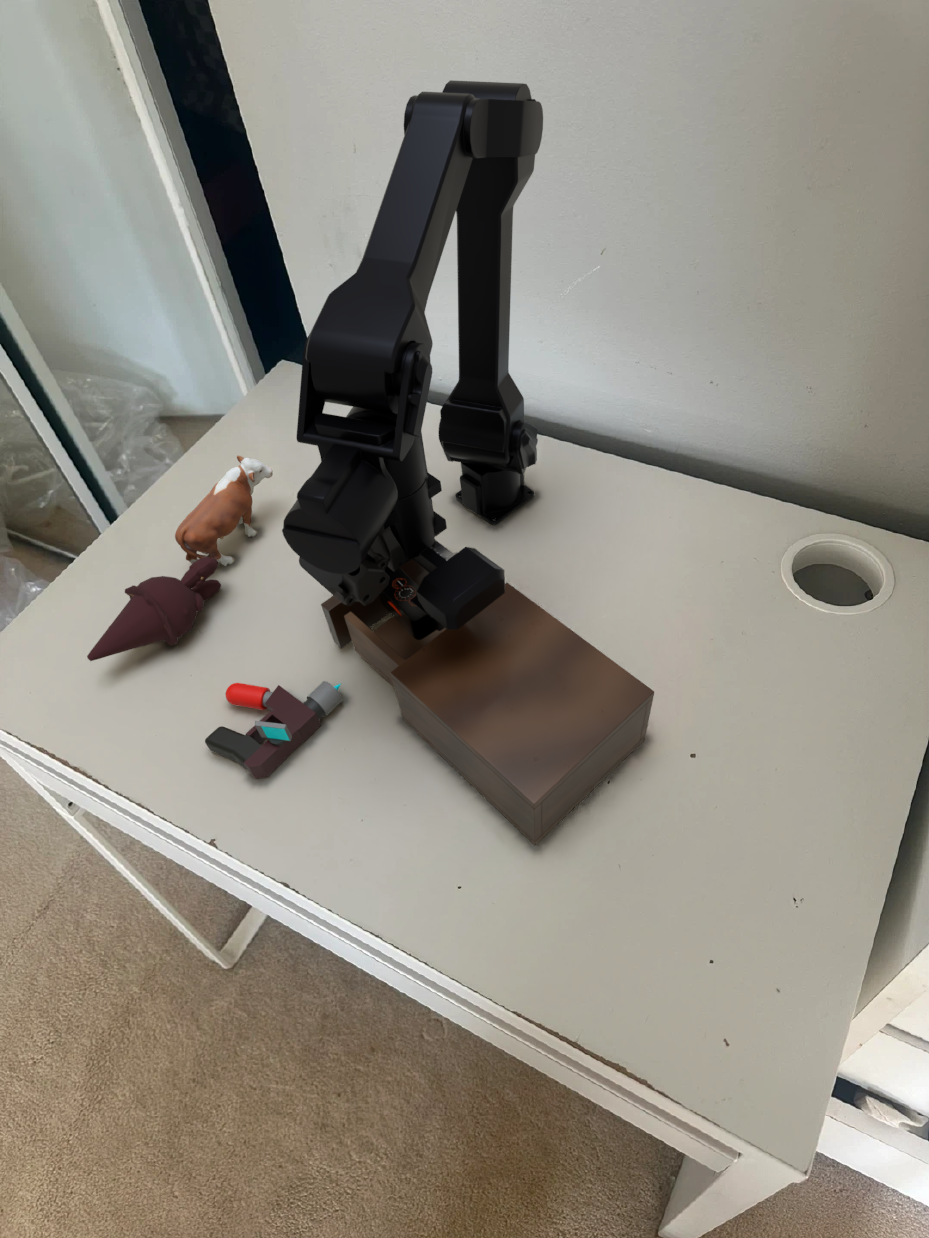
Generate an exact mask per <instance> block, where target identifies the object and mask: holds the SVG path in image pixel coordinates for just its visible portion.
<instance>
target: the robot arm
mask: <svg viewBox="0 0 929 1238" xmlns="http://www.w3.org/2000/svg"><path fill="white" fill-rule="evenodd" d="M443 87H444V88H443V90H442V91H440V92H439V91H421V92H420V93H419V94H417V95H416V94H414V95H412V96H410V97H409V98H408V101H407V102H406V104H405V105H406V106H405V109H404V113H403V115H404V116H403V135H404V136H403V139H402V141H401V144H400V147H399V151H398V153H397V156H396V160H395V162H394V165H393V168H392V171H391V172H390V177H389V180H388V182H387V185H386V188H385V191H384V194H383V197H382V200H381V203H380V206H379V208H378V211H377V214H376V218H375V220H374V224H373V227H372V229H371V232H370V235H369V238H368V241H367V243H366V246H365V249H364V252H363V255H362V258H361V261H360V263H359V265H358V267H357V269H356V271H355V273H353V274H352V275H350V277H349V278H347V279H346V280H345V281H343V282H342V283H341V284H340V285H338V286H337V287H336V288H334V290H331V292H330V293H329V294H328V296H327V297H326V299H325V301H324V303H323V305H322V308H321V310H320V312H319V314H318V316H317V318H316V320H315V322H314V324H313V325H312V328H311V330H310V333H309V334H308V336H307V338H306V340H305V343H304V346H303V351H302V352H303V353H302V364H301V375H300V376H301V377H300V388H299V389H300V390H299V401H298V402H299V403H298V413H297V425H296V427H297V429H296V441H297V443H300V444H306V445H311V446H317V449H318V452H319V456H320V463H319V464H318V466H317V467H316V469H315V470H314V472H313V473H312V474H311V475H310V477H308V478H307V480H306V481H305V482H304V483H303V484H302V486H301V487H300V489H299V490H298V491H297V493H296V501H295V502H294V504H293V505H292V506H291V507H290V510H289V511H288V512H287V514H286V516H285V517H284V519H283V527H282V529H281V532H282V535H283V537H284V539H285V542H286V543H287V544H288V546H289V547H290V548H291V550H292V551H293V552H294V553H295V554H296V555H297V556H298V563H299V566H300V567H301V568H302V569H303V570H304V571H305V572H306V573H307V574H309V575H310V576H311V577H312V578H313V579H314V580H315V581H316V582H318V584H319V585H321V586H322V587H323V588H324V589H325V590H327V591H328V592H329V593H330V594H331V595H332V596H333V595H334V596H335V597H336V598H337V599H338V600H339V601H340V602H342V603H343V604H345V605H347V606H351V605H353V604H354V603H355V602H357V601H359V602H360V603H362V604H363V605H368V604H371V603H372V602H373V601H374V600H375V599H376V598H377V597H378V595H379V594H380V593H381V592H382V591H383V590H384V589H385V588H386V587H387V586H388V584H389V580H390V577H389V576H388V574H387V572H389V571H391V570H392V571H394V572H395V571H396V570H397V569H399V568H400V567H402V566H403V565H404V564H406V563H407V562H409V561H410V560H411V559H412V560H414V561H415V562H416V563H417V564H419V565H420V566H421V567H423V568H424V569H425V570H426V571H428V572H429V574H428V575H426V576H425V577H424V578H423V580H422V582H421V584H420V586H419V588H418V590H417V595H416V596H415V597H414V598H412V599H411V600H410V601H411V602H413V603H414V604H415V605H416V606H417V607H419V608H420V609H421V610H422V611H423V612H425V613H426V614H427V615H428V616H430V617H431V619H432V622H433V624H434V626H435V628H436V629H437V630H438V631H441V630H442V629H444V628H446V629H447V630H458V629H459V628H461V627H462V626H463V625H464V624H466V623H467V622H468V621H470V620H471V619H472V618H473V617H475V616H476V615H477V614H479V613H480V612H481V611H482V610H484V609H485V608H486V607H488V606H489V605H490V604H491V603H493V602H494V601H495V600H496V599H498V598H499V597H500V596H502V595H503V594H504V593H505V583H506V579H505V578H506V576H505V569H503V568H502V567H501V566H500V565H498V564H497V563H495V562H494V561H493V560H491V559H490V558H489V557H488V556H486V555H484V554H483V553H482V552H481V551H479V550H478V549H476V548H474V547H469V546H465V547H464V548H462V549H461V550H459V551H457V552H452V550H450V549H448V548H447V547H446V546H444V545H443V544H442V543H440V542H439V541H438V540H437V539H436V537H437V536H439V535H440V534H441V533H443V532H444V531H446V530H447V529H448V527H447V525H448V524H447V520H446V519H447V518H444V517H443V516H441V515H440V514H439V513H437V512H436V511H435V510H434V505H433V498H434V497H435V496H437V495H438V494H440V493H441V492H442V491H443V490H442V482H441V480H439V479H438V477H435V476H434V475H432V474H431V473H430V472H429V471H428V467H427V460H426V453H425V445H424V440H423V434H422V429H423V423H424V418H425V413H426V409H427V408H426V407H427V402H428V398H429V392H430V388H431V382H432V378H433V365H432V363H431V352H432V350H433V338H432V335H431V331H430V328H429V324H428V320H427V317H426V308H427V303H428V300H429V295H430V293H431V290H432V286H433V283H434V281H435V277H436V274H437V271H438V270H437V269H438V268H439V264H440V262H441V258H442V255H443V252H444V249H445V245H446V244H447V239H448V237H449V234H450V231H451V227H452V224H453V221H454V218H455V215H456V257H457V259H456V260H457V263H456V264H457V328H458V329H457V330H458V331H457V334H458V337H457V338H458V381H457V382H456V384H455V386H454V387H453V389H452V391H451V392H450V394H449V395H448V396H447V399H446V400H445V402H444V403H443V404H442V406H441V408H440V410H439V413H440V420H439V425H438V441H439V443H440V446H441V448H442V450H443V453H444V455H445V458H446V460H447V461H448V462H452V463H453V462H455V463H460V466H461V467H460V468H461V475H459V485H460V490H459V491H457V492H456V493H455V496H454V497H455V500H456V501H458V502H459V503H461V504H462V505H463V506H464V507H465V508H467V509H468V510H470V511H471V512H473V514H475V515H477V516H479V517H481V518H482V519H483V520H484V521H486V522H488V523H489V524H491V525H498V524H499V523H500V522H502V521H503V520H504V519H506V518H507V517H508V516H510V515H511V514H513V513H514V512H516V511H517V510H518V509H519V508H521V507H522V506H523V505H525V504H527V503H528V502H530V501H531V500H532V499H533V498H534V497H535V491H534V490H533V489H532V488H530V487H528V486H527V485H525V472H526V469H527V468H529V467H531V466H534V465H536V463H537V461H538V451H537V450H538V449H537V445H538V441H539V440H538V431H539V430H538V428H537V427H536V426H534V425H532V424H531V423H528V422H527V421H525V398H524V396H523V394H522V393H521V391H520V389H519V387H518V386H517V385H516V382H515V381H514V378H513V377H512V376H511V374H510V372H509V366H510V365H509V360H510V328H511V327H510V326H511V325H510V324H511V294H512V259H513V258H512V257H513V227H514V226H513V222H514V206H515V204H516V203H517V200H518V199H519V198H520V196H521V193H522V192H523V190H524V189H525V187H526V186H527V184H528V181H529V180H530V178H531V177H532V175H533V173H534V170H535V163H536V155H537V154H538V152H539V149H540V147H541V143H542V139H543V130H544V110H543V106H542V102H540V101H537V100H536V99H535V98H533V97H532V94H531V90H530V86H529V85H528V84H527V83H523V82H522V83H520V82H499V81H498V82H497V81H496V82H495V81H473V80H453V79H452V80H449V81H448V82H447V83H446V84H445V86H443ZM326 403H329V404H336V405H341V406H347V407H352V408H351V409H350V410H349V412H348V413H347V415H346V416H341V415H336V414H331V413H326V412H325V413H324V409H325V404H326Z"/></svg>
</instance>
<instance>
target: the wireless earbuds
mask: <svg viewBox="0 0 929 1238" xmlns="http://www.w3.org/2000/svg"><path fill="white" fill-rule="evenodd" d="M387 574H388V576H389V577H390V580H389V584H388V586H387V587H386V588H385V589H384V590H383V591H382V592H381V593H380V594H379V597H380V601H381V603H382V605H383V606H384V607H385V608H386V609H387V610H388V611H389V612H390V613H389V614H390V615H391V616H392V617H394V618H395V619H396V620H397V621H398V622H399V623H400V624H401V625H402V626H403V627H404V628H405V629H406V630H407V631H408V632H409V633H410V634H411V635H412V637H413V638H415V639H416V640H422V639H424V638H425V637H427V636H428V635H430V634H431V633H433V632H434V631H436V630H437V629H436V628H435V626H434V624H433V622H432V619H431V617H430V616H428V615H427V614H426V613H425V612H423V611H422V610H421V609H420V608H419V607H417V606H416V605H415V604H414V603H413V602H411V601H410V600H411V599H412V598H414V597H415V596H416V595H417V590H418V588H419V586H418V585H417V584H416V583H415V582H414V581H413V580H412V579H411V578H410V577H409V576H408V575H407V574H406V573H405V572H404V571H403V570H402V569H400V568H399V569H397V570H396V571H395V572H394V571H392V570H391V571H389V572H387Z"/></svg>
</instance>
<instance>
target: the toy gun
mask: <svg viewBox="0 0 929 1238" xmlns="http://www.w3.org/2000/svg"><path fill="white" fill-rule="evenodd" d="M341 685H342V682H341V683H337V684H336V685H334V686H333V684H331V683H330V682H328V681H326V680H323V681H322V682H321V683H320V684H318V685H317V687H315V688H314V689H313V690H312V691H311V692H310V694H308V695H307V696H306V700H305V701H304V702H302V701H301V700H300V699H298V698H297V697H296V696H294V695H293V694H292V693H290V692H289V691H288V690H286V689H285V688H284V687H282V686H281V685H280V684H277V686H276V687H275V689H274V690H273V691H271V690H270V688H269V687H267V686H266V687H265V686H260V685H253V684H247V683H242V682H234V683H233V682H232V683H231V684H230V685H228V686H227V688H226V691H225V698H226V700H227V702H228V703H229V704H231V705H233V706H237V707H243V708H248V709H254V710H259V711H264V710H267V709H268V712H267V713H266V714H265V715H264V716H263V717H262V718H260V720H254V726H252V727H251V728H250V729H249V730H248V731H247V732H245V734H243V733H240V732H238V731H237V730H233V729H232V728H228V727H226V726H223V725H221V726H218V727H217V728H216V729H214V731H212V732H211V733H210V734H209V735H208V736H207V737H206V738H205V740H204V743H205V745H206V746H207V748H208V749H209V750H210V751H211V752H213V753H214V754H216V755H219V756H222V757H224V758H227V759H229V760H231V761H234V762H237V763H238V764H239V765H240V766H241V767H243V769H245V770H246V771H247V772H248V773H250V775H251V776H252V777H253V778H254V779H262V778H267V777H269V775H270V774H272V773H273V772H274V771H275V769H277V768H278V767H279V766H280V764H282V763H283V762H284V761H286V759H287V758H288V757H289V756H290V755H291V754H292V753H293V752H295V750H296V749H298V747H299V746H300V745H301V744H303V743H304V742H305V741H306V740H308V738H309V737H310V736H311V735H312V734H313V733H315V731H317V730H318V729H319V728H320V727H321V726H322V724H321V719H322V718H323V717H327V716H328V715H329V714H330V713H331V712H332V711H334V710H335V708H336V707H337V706H339V705H340V703H341V702H342V701H343V700H344V699H343V697H342V695H341V692H339V689H340V687H341ZM266 739H267V740H266ZM265 740H266V741H265ZM264 741H265V742H264ZM263 742H264V743H263ZM262 743H263V744H262Z"/></svg>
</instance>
